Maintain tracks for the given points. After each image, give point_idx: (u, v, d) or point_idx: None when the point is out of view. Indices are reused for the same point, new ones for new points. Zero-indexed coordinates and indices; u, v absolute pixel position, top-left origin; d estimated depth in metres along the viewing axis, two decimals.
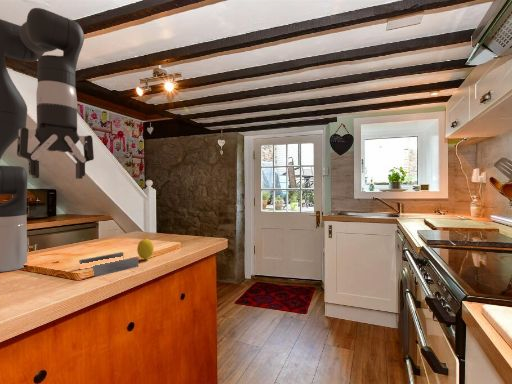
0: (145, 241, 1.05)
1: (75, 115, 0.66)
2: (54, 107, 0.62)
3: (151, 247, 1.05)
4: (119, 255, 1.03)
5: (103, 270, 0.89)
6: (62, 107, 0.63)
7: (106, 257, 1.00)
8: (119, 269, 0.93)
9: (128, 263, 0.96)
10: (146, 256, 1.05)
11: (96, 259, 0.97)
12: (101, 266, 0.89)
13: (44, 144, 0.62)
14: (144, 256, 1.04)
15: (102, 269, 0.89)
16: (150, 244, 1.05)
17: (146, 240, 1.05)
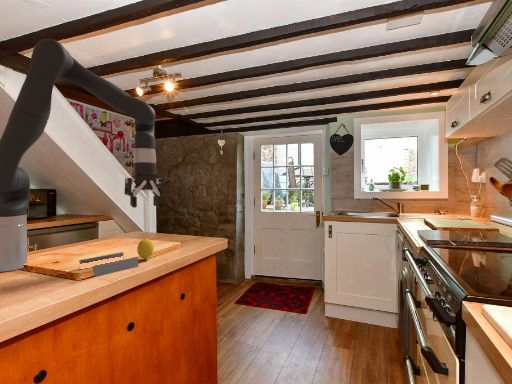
0: (145, 241, 1.05)
1: (155, 167, 1.06)
2: (146, 164, 1.02)
3: (151, 247, 1.05)
4: (119, 255, 1.03)
5: (103, 270, 0.89)
6: (150, 164, 1.03)
7: (106, 257, 1.00)
8: (119, 269, 0.93)
9: (128, 263, 0.96)
10: (146, 256, 1.05)
11: (96, 259, 0.97)
12: (101, 266, 0.89)
13: (139, 186, 1.02)
14: (144, 256, 1.04)
15: (102, 269, 0.89)
16: (150, 244, 1.05)
17: (146, 240, 1.05)
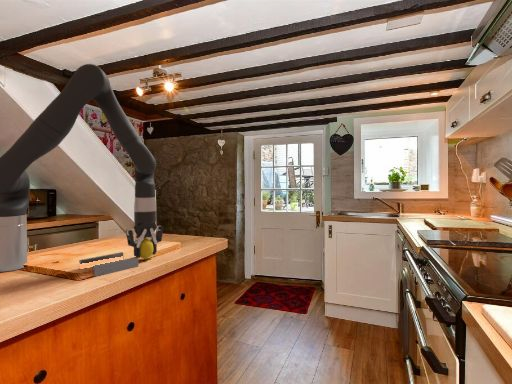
0: (145, 241, 1.05)
1: (155, 214, 1.06)
2: (146, 213, 1.02)
3: (151, 247, 1.05)
4: (119, 255, 1.03)
5: (103, 270, 0.89)
6: (150, 213, 1.03)
7: (106, 257, 1.00)
8: (119, 269, 0.93)
9: (128, 263, 0.96)
10: (146, 256, 1.05)
11: (96, 259, 0.97)
12: (101, 266, 0.89)
13: (141, 236, 1.03)
14: (144, 256, 1.04)
15: (102, 269, 0.89)
16: (150, 244, 1.05)
17: (146, 240, 1.05)
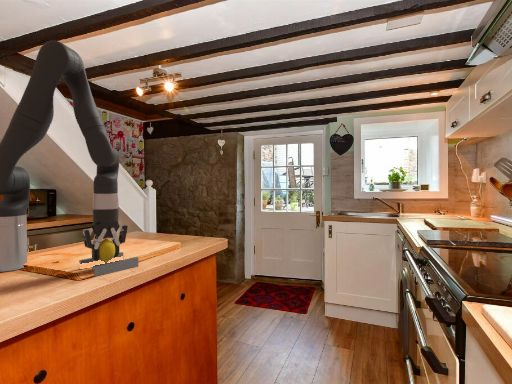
0: (105, 242, 0.94)
1: (117, 213, 0.96)
2: (105, 211, 0.92)
3: (112, 249, 0.95)
4: (119, 255, 1.03)
5: (103, 270, 0.89)
6: (110, 210, 0.93)
7: None
8: (119, 269, 0.93)
9: (128, 263, 0.96)
10: (106, 259, 0.94)
11: None
12: (101, 266, 0.89)
13: (100, 237, 0.92)
14: (104, 259, 0.94)
15: (102, 269, 0.89)
16: (111, 245, 0.95)
17: (106, 241, 0.95)
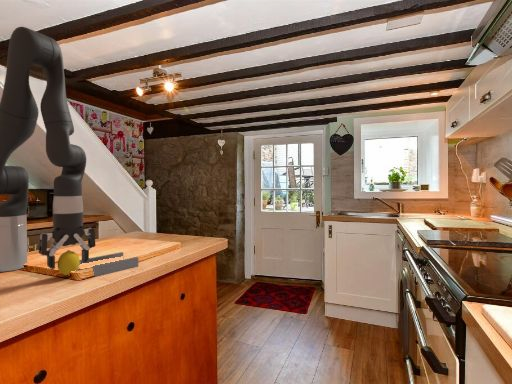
0: (67, 254, 0.85)
1: (81, 217, 0.87)
2: (66, 216, 0.83)
3: (75, 261, 0.86)
4: (119, 255, 1.03)
5: (103, 270, 0.89)
6: (72, 215, 0.84)
7: (106, 257, 1.00)
8: (119, 269, 0.93)
9: (128, 263, 0.96)
10: (68, 273, 0.85)
11: (96, 259, 0.97)
12: (101, 266, 0.89)
13: (58, 243, 0.83)
14: (65, 273, 0.85)
15: (102, 269, 0.89)
16: (74, 258, 0.86)
17: (69, 253, 0.86)
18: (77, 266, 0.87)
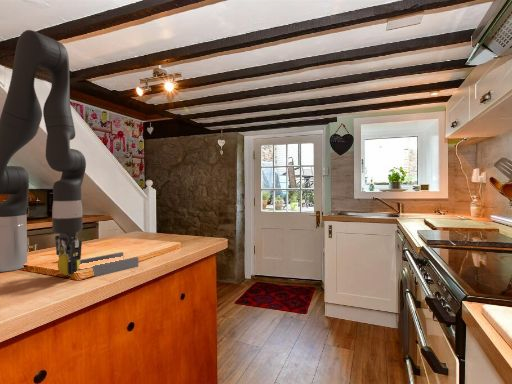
0: None
1: (60, 223, 0.83)
2: None
3: None
4: (119, 255, 1.03)
5: (103, 270, 0.89)
6: (52, 219, 0.84)
7: (106, 257, 1.00)
8: (119, 269, 0.93)
9: (128, 263, 0.96)
10: None
11: (96, 259, 0.97)
12: (101, 266, 0.89)
13: (58, 246, 0.87)
14: (65, 273, 0.85)
15: (102, 269, 0.89)
16: None
17: None
18: (77, 266, 0.87)
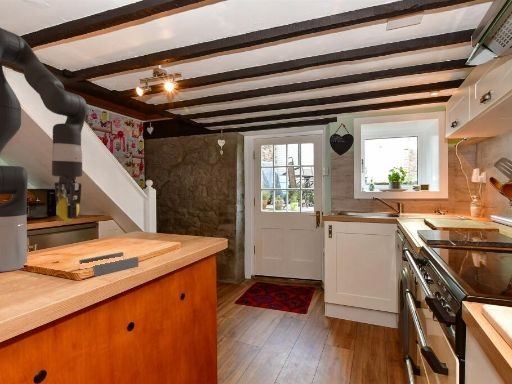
0: None
1: (60, 166, 0.82)
2: None
3: None
4: (119, 255, 1.03)
5: (103, 270, 0.89)
6: (52, 162, 0.83)
7: (106, 257, 1.00)
8: (119, 269, 0.93)
9: (128, 263, 0.96)
10: None
11: (96, 259, 0.97)
12: (101, 266, 0.89)
13: (57, 191, 0.86)
14: (65, 217, 0.84)
15: (102, 269, 0.89)
16: None
17: None
18: (77, 212, 0.86)
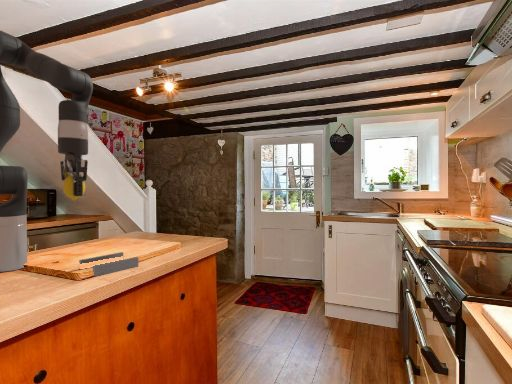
0: None
1: (66, 142, 0.81)
2: None
3: None
4: (119, 255, 1.03)
5: (103, 270, 0.89)
6: (58, 139, 0.82)
7: (106, 257, 1.00)
8: (119, 269, 0.93)
9: (128, 263, 0.96)
10: None
11: (96, 259, 0.97)
12: (101, 266, 0.89)
13: (63, 169, 0.86)
14: (71, 195, 0.84)
15: (102, 269, 0.89)
16: None
17: None
18: (83, 190, 0.86)
